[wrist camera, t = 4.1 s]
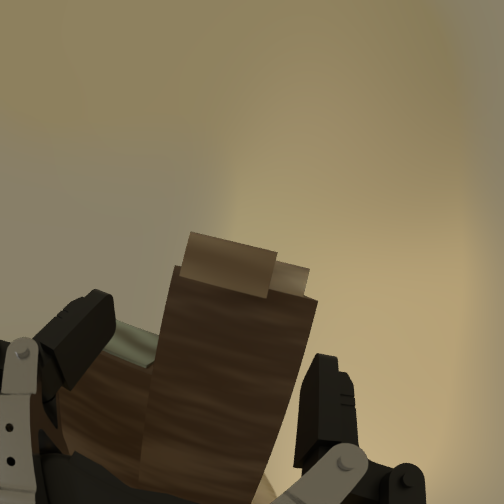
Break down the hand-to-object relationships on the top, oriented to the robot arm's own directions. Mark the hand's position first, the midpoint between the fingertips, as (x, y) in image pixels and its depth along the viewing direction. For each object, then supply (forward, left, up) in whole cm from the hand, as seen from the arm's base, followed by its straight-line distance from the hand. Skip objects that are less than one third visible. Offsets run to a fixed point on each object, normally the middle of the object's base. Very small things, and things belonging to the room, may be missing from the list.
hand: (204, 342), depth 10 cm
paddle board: (+10, +8, +2) cm, 13 cm away
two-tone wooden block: (+11, +17, -30) cm, 36 cm away
